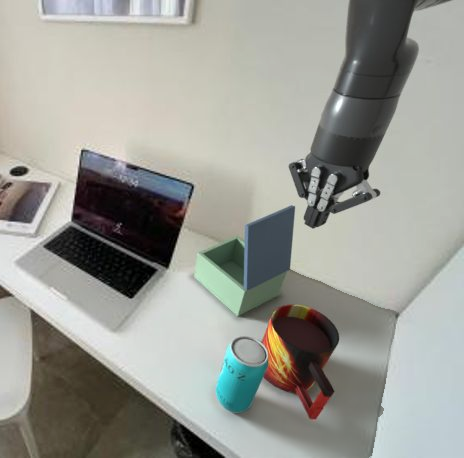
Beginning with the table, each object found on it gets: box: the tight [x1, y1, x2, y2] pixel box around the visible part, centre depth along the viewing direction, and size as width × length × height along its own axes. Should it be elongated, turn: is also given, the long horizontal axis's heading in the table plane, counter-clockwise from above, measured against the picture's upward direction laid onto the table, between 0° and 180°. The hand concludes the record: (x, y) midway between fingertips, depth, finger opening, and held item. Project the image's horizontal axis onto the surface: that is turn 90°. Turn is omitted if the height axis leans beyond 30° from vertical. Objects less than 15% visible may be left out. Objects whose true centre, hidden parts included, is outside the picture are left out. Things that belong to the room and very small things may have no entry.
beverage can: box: [215, 335, 269, 414], centre depth 58 cm, size 6×6×15 cm
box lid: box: [244, 204, 296, 291], centre depth 69 cm, size 14×12×1 cm
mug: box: [260, 303, 340, 420], centre depth 61 cm, size 10×14×12 cm
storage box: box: [193, 235, 288, 317], centre depth 80 cm, size 14×12×8 cm
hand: (312, 224), depth 59 cm, fingers closed
